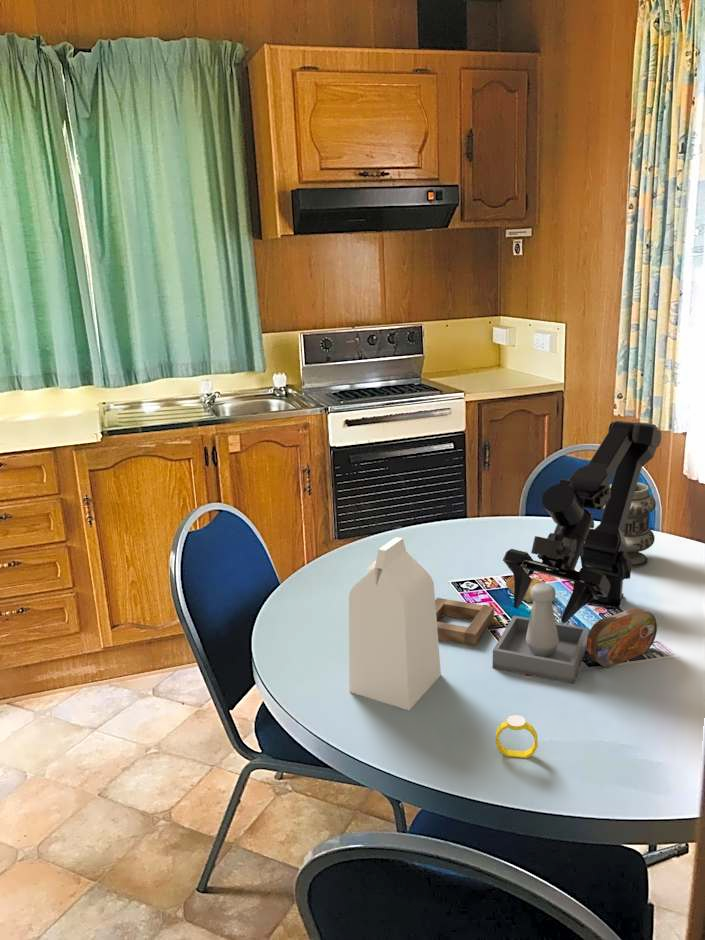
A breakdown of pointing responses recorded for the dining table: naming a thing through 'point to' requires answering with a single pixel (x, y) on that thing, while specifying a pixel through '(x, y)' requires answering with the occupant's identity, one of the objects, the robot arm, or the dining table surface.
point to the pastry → (527, 596)
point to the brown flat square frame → (470, 611)
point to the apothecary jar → (639, 525)
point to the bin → (520, 659)
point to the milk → (393, 630)
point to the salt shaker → (542, 622)
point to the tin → (621, 637)
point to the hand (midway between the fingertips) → (538, 614)
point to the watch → (516, 724)
